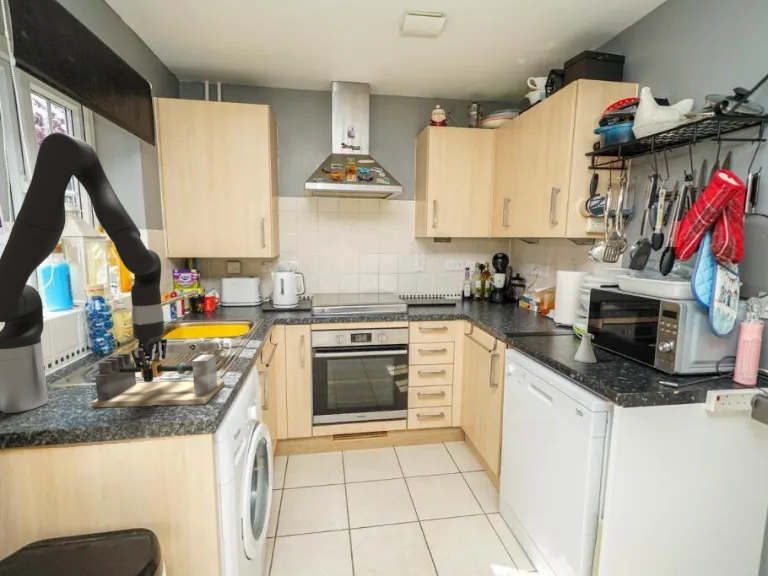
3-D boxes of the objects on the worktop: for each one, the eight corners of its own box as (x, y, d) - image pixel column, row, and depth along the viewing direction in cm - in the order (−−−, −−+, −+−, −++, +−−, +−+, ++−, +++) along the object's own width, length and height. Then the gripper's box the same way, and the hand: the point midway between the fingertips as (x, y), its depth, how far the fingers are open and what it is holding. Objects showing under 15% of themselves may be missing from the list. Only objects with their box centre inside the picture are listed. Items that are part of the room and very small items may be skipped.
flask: (600, 363, 134) (602, 336, 133) (580, 363, 134) (581, 336, 133) (589, 357, 141) (590, 331, 140) (570, 357, 141) (571, 331, 140)
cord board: (91, 407, 101) (87, 366, 100) (125, 387, 115) (121, 351, 114) (205, 404, 102) (202, 363, 101) (224, 385, 116) (222, 349, 115)
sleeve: (141, 377, 106) (140, 364, 106) (149, 373, 110) (148, 360, 109) (156, 377, 106) (155, 364, 106) (163, 373, 110) (162, 360, 110)
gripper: (149, 315, 113) (153, 370, 115) (118, 325, 99) (123, 388, 101) (174, 315, 113) (178, 370, 115) (147, 325, 99) (152, 387, 101)
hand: (153, 378), depth 108 cm, fingers closed on sleeve, 3 cm apart
